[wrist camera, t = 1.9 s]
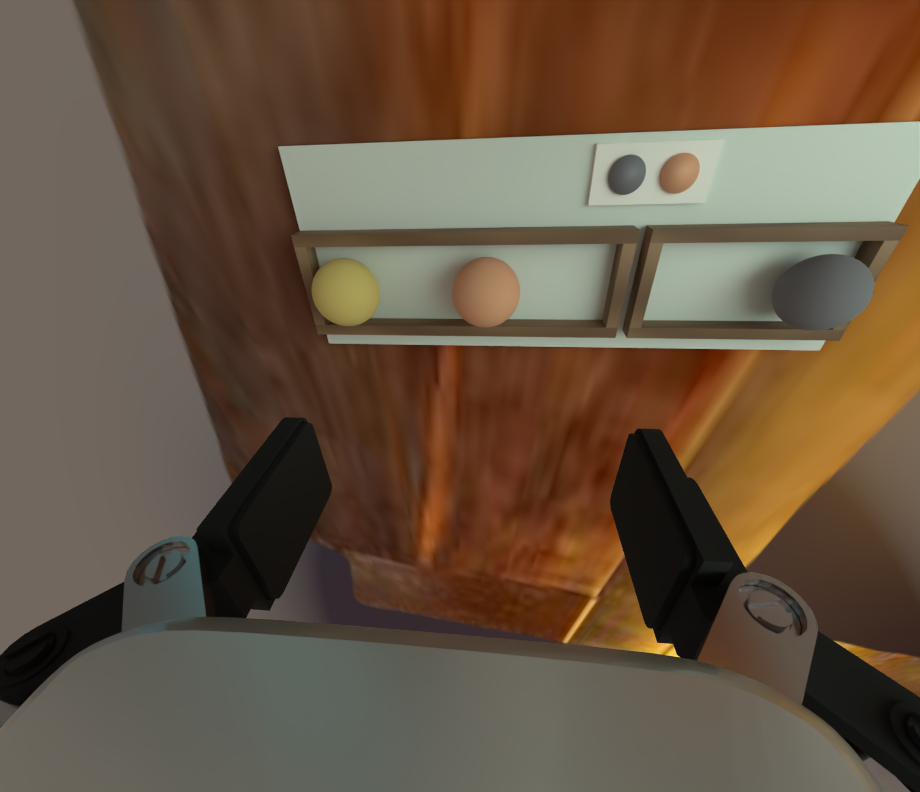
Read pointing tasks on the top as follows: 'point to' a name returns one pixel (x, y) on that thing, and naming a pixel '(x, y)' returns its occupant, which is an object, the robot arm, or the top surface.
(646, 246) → the wooden rectangular frame
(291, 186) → the board
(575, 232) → the wooden picture frame
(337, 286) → the ochre ball
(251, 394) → the top surface
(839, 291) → the charcoal ball
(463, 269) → the terracotta ball
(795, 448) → the top surface
